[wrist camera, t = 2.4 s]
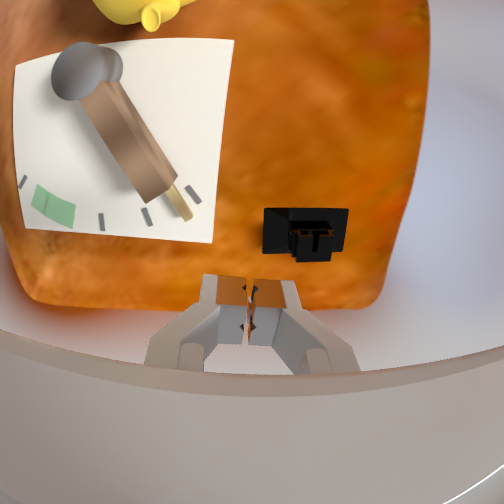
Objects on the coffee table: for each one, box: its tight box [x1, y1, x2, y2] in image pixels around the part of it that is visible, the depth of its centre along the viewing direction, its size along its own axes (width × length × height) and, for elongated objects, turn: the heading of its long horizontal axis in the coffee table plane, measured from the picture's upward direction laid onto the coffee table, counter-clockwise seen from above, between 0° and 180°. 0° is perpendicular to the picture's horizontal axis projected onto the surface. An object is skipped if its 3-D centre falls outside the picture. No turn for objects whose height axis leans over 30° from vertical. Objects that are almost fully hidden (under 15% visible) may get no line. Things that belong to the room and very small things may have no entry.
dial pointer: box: [51, 42, 194, 222], centre depth 21 cm, size 20×5×4 cm, turn 28°
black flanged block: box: [262, 208, 349, 262], centre depth 29 cm, size 12×7×5 cm, turn 90°
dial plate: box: [13, 38, 234, 243], centre depth 24 cm, size 20×24×2 cm
